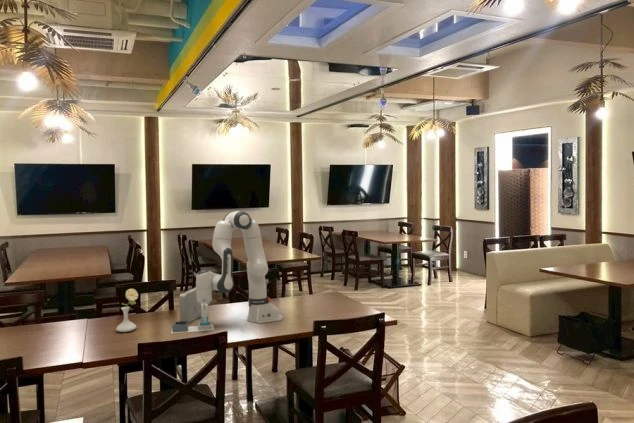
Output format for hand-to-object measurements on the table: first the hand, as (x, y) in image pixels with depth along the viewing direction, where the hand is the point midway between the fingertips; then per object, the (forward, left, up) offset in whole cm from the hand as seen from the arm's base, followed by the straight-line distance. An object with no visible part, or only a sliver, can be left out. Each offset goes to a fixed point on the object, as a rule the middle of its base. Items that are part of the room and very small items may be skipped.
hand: (204, 321), depth 290 cm
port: (+14, 0, -4) cm, 15 cm away
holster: (0, 0, -4) cm, 4 cm away
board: (+7, 0, -6) cm, 9 cm away
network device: (+8, -21, -6) cm, 23 cm away
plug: (0, 0, -4) cm, 4 cm away
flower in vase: (+45, -13, -6) cm, 47 cm away
